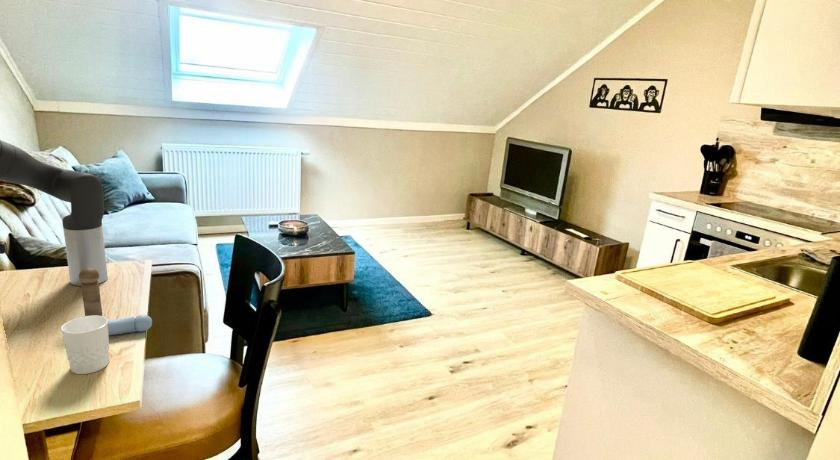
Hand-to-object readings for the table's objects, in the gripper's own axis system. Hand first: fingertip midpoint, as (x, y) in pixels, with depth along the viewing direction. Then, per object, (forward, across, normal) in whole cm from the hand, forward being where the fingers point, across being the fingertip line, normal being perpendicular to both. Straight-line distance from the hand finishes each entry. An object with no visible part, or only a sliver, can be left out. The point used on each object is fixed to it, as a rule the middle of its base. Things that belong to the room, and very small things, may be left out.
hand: (5, 247), depth 94 cm
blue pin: (+12, -1, +22) cm, 25 cm away
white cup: (+14, -14, +23) cm, 31 cm away
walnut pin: (+13, +10, +24) cm, 29 cm away
